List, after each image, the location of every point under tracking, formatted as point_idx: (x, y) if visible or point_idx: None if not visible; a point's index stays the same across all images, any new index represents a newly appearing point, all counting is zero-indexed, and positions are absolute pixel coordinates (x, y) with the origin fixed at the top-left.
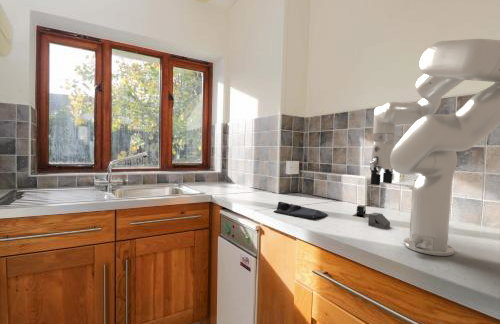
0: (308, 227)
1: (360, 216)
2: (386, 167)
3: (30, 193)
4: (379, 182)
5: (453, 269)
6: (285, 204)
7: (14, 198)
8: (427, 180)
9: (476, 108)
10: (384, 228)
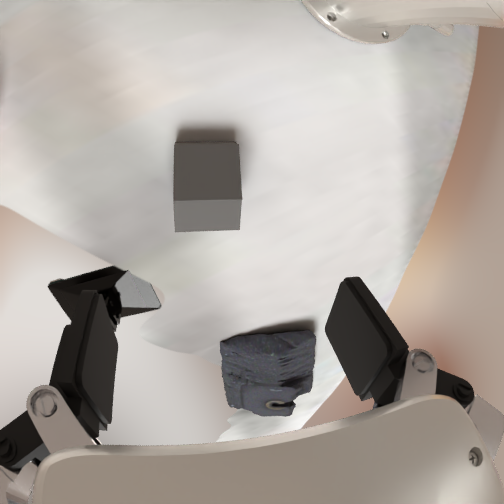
0: (385, 286)
1: (129, 287)
2: (407, 419)
3: None
4: (367, 288)
5: None
6: (292, 403)
7: None
8: None
9: None
10: (231, 142)
